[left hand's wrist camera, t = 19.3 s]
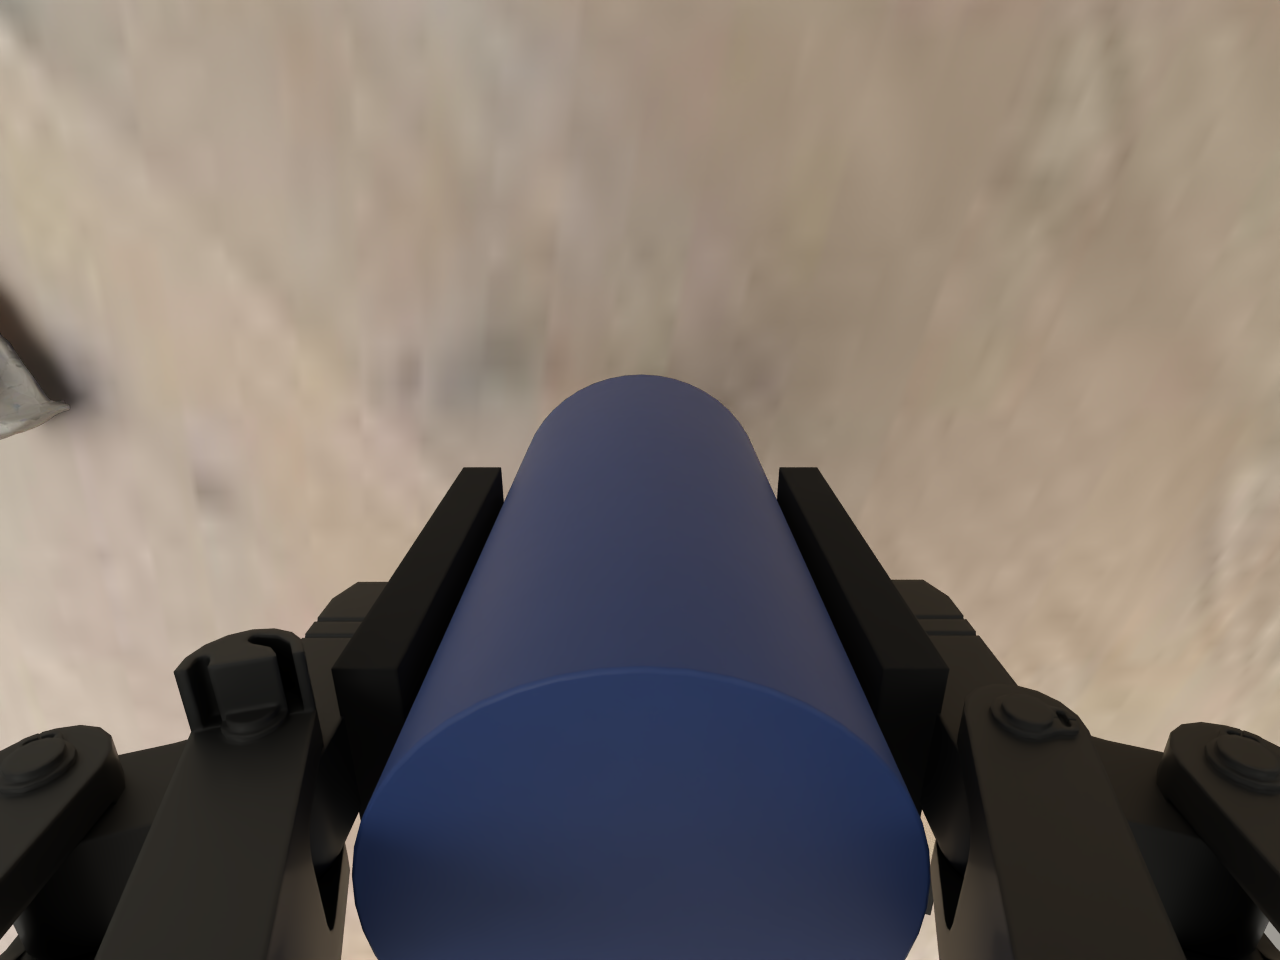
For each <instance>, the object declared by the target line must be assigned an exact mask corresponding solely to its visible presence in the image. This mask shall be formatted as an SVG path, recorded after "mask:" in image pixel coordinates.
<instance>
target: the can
mask: <svg viewBox="0 0 1280 960" xmlns="http://www.w3.org/2000/svg"><path fill="white" fill-rule="evenodd" d="M930 880H931V875H930V856H929V847H928V843H927V839H926V835H925V831H924V827H923V823H922V820H921V818H920V816H919V814H918V811H917V809H916V807H915V805H914V802H913V800H912V798H911V796H910V794H909V791H908V789H907V787H906V785H905V783H904V780H903V778H902V776H901V774H900V771H899V769H898V767H897V765H896V763H895V760H894V758H893V756H892V754H891V752H890V749H889V747H888V745H887V743H886V740H885V738H884V736H883V734H882V732H881V729H880V727H879V725H878V723H877V721H876V718H875V716H874V714H873V712H872V709H871V707H870V705H869V703H868V701H867V698H866V696H865V694H864V692H863V690H862V687H861V685H860V683H859V681H858V678H857V676H856V674H855V672H854V670H853V667H852V665H851V663H850V661H849V659H848V656H847V654H846V652H845V650H844V648H843V645H842V643H841V641H840V639H839V636H838V634H837V632H836V630H835V628H834V625H833V623H832V621H831V619H830V617H829V614H828V612H827V610H826V608H825V605H824V603H823V601H822V599H821V597H820V594H819V592H818V590H817V588H816V586H815V583H814V581H813V579H812V577H811V574H810V572H809V570H808V568H807V566H806V563H805V561H804V559H803V557H802V555H801V552H800V550H799V548H798V546H797V544H796V541H795V539H794V537H793V535H792V532H791V530H790V528H789V526H788V524H787V521H786V519H785V517H784V515H783V513H782V510H781V508H780V506H779V504H778V501H777V499H776V497H775V495H774V493H773V490H772V488H771V486H770V484H769V482H768V479H767V477H766V475H765V473H764V470H763V468H762V466H761V464H760V462H759V459H758V457H757V455H756V453H755V451H754V448H753V446H752V444H751V442H750V439H749V437H748V435H747V434H746V432H745V431H744V429H743V427H742V426H741V424H740V423H739V422H738V420H737V419H736V418H735V417H734V416H733V414H732V413H731V412H730V411H729V410H728V409H727V408H726V407H724V406H723V405H722V404H721V403H720V402H719V401H718V400H716V399H715V398H713V397H712V396H710V395H709V394H707V393H706V392H704V391H702V390H700V389H698V388H696V387H694V386H692V385H690V384H687V383H684V382H682V381H679V380H676V379H672V378H667V377H662V376H654V375H627V376H621V377H615V378H610V379H606V380H603V381H600V382H597V383H594V384H592V385H590V386H588V387H586V388H584V389H581V390H579V391H578V392H576V393H575V394H573V395H572V396H570V397H569V398H567V399H566V400H564V401H563V402H562V403H561V404H560V405H559V406H557V407H556V408H555V409H554V410H553V411H552V412H551V413H550V414H549V416H548V417H547V418H546V419H545V420H544V421H543V423H542V424H541V426H540V427H539V429H538V430H537V432H536V433H535V435H534V437H533V439H532V442H531V444H530V446H529V448H528V450H527V452H526V455H525V457H524V459H523V461H522V464H521V466H520V468H519V470H518V472H517V475H516V477H515V479H514V481H513V484H512V486H511V488H510V490H509V492H508V495H507V497H506V499H505V501H504V504H503V506H502V508H501V510H500V512H499V515H498V517H497V519H496V521H495V523H494V526H493V528H492V530H491V532H490V535H489V537H488V539H487V541H486V543H485V546H484V548H483V550H482V552H481V555H480V557H479V559H478V561H477V563H476V566H475V568H474V570H473V572H472V575H471V577H470V579H469V581H468V583H467V586H466V588H465V590H464V592H463V595H462V597H461V599H460V601H459V603H458V606H457V608H456V610H455V612H454V615H453V617H452V619H451V621H450V623H449V626H448V628H447V630H446V632H445V635H444V637H443V639H442V641H441V643H440V646H439V648H438V650H437V652H436V655H435V657H434V659H433V661H432V663H431V666H430V668H429V670H428V672H427V675H426V677H425V679H424V681H423V683H422V686H421V688H420V690H419V692H418V695H417V697H416V699H415V701H414V703H413V706H412V708H411V710H410V712H409V714H408V717H407V719H406V721H405V723H404V726H403V728H402V730H401V732H400V734H399V737H398V739H397V741H396V743H395V746H394V748H393V750H392V752H391V754H390V757H389V759H388V761H387V763H386V766H385V768H384V770H383V772H382V774H381V777H380V779H379V781H378V783H377V786H376V788H375V790H374V792H373V794H372V797H371V799H370V801H369V803H368V806H367V808H366V810H365V812H364V814H363V817H362V819H361V823H360V826H359V830H358V834H357V838H356V841H355V845H354V854H353V868H352V881H353V890H354V899H355V906H356V909H357V912H358V916H359V919H360V923H361V926H362V929H363V932H364V934H365V936H366V938H367V940H368V942H369V944H370V946H371V948H372V950H373V952H374V954H375V956H376V957H377V959H378V960H905V959H906V957H907V955H908V954H909V952H910V950H911V948H912V946H913V944H914V942H915V940H916V938H917V936H918V934H919V931H920V928H921V925H922V922H923V919H924V915H925V912H926V909H927V904H928V896H929V888H930Z"/></svg>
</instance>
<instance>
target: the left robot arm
mask: <svg viewBox="0 0 1280 960" xmlns="http://www.w3.org/2000/svg"><path fill="white" fill-rule="evenodd" d="M777 501H778V504H779V506H780V508H781V510H782V513H783V515H784V517H785V519H786V521H787V524H788V526H789V528H790V530H791V532H792V535H793V537H794V539H795V541H796V544H797V546H798V548H799V550H800V552H801V555H802V557H803V559H804V561H805V563H806V566H807V568H808V570H809V572H810V574H811V577H812V579H813V581H814V583H815V586H816V588H817V590H818V592H819V594H820V597H821V599H822V601H823V603H824V605H825V608H826V610H827V612H828V614H829V617H830V619H831V621H832V623H833V625H834V628H835V630H836V632H837V634H838V636H839V639H840V641H841V643H842V645H843V648H844V650H845V652H846V654H847V656H848V659H849V661H850V663H851V665H852V667H853V670H854V672H855V674H856V676H857V678H858V681H859V683H860V685H861V687H862V690H863V692H864V694H865V696H866V698H867V701H868V703H869V705H870V707H871V709H872V712H873V714H874V716H875V718H876V721H877V723H878V725H879V727H880V729H881V732H882V734H883V736H884V738H885V740H886V743H887V745H888V747H889V749H890V752H891V754H892V756H893V758H894V760H895V763H896V765H897V767H898V769H899V771H900V774H901V776H902V778H903V780H904V783H905V785H906V787H907V789H908V791H909V794H910V796H911V798H912V800H913V802H914V805H915V807H916V809H917V811H918V814H919V816H920V817H921V812H922V810H923V812H924V814H925V817H926V819H927V821H928V823H929V825H930V827H931V830H932V832H933V834H934V836H935V838H936V840H935V845H934V850H933V855H932V859H931V864H930V875H931V880H930V888H929V896H928V904H927V909H926V912H925V914H928V915H931V910H932V906H933V902H934V912H935V922H936V932H937V941H938V951H939V960H1280V951H1279V950H1278V949H1277V948H1276V947H1275V946H1274V945H1273V943H1272V942H1271V941H1270V940H1269V938H1268V937H1267V936H1266V935H1265V933H1264V931H1265V928H1266V926H1267V924H1268V922H1269V921H1270V922H1271V923H1272V925H1273V926H1274V927H1275V928H1276V930H1277V931H1278V932H1279V933H1280V747H1279V746H1277V745H1275V744H1273V743H1271V742H1269V741H1267V740H1265V739H1263V738H1261V737H1259V736H1257V735H1255V734H1252V733H1250V732H1247V731H1242V730H1240V729H1237V728H1233V727H1229V726H1225V725H1218V724H1211V723H1204V722H1198V723H1189V724H1181V725H1180V726H1179V727H1177V728H1176V729H1175V730H1173V731H1172V732H1171V733H1170V736H1169V739H1168V741H1167V744H1166V747H1165V750H1164V752H1159V751H1154V750H1149V749H1145V748H1140V747H1135V746H1131V745H1126V744H1121V743H1117V742H1112V741H1107V740H1104V739H1100V738H1096V737H1093V736H1091V735H1090V732H1089V730H1088V729H1087V728H1086V726H1085V725H1084V723H1083V722H1082V721H1081V719H1080V718H1079V716H1078V715H1077V714H1075V713H1074V712H1073V711H1071V710H1070V709H1069V708H1067V707H1066V706H1065V705H1063V704H1062V703H1061V702H1059V701H1057V700H1055V699H1053V698H1051V697H1049V696H1047V695H1045V694H1043V693H1040V692H1038V691H1035V690H1032V689H1028V688H1024V687H1020V686H1018V685H1017V684H1016V683H1015V681H1014V680H1013V679H1012V678H1011V676H1010V675H1009V674H1008V672H1007V671H1006V670H1005V669H1004V667H1003V666H1002V665H1001V663H1000V662H999V661H998V660H997V658H996V657H995V656H994V654H993V653H992V652H991V651H990V649H989V648H988V647H987V645H986V644H985V643H984V641H983V640H982V639H981V638H980V636H976V631H975V630H974V629H973V627H972V626H971V625H970V623H969V622H968V621H967V620H966V619H963V614H962V613H961V612H960V611H959V609H958V608H957V607H956V605H955V604H954V603H953V602H952V600H951V599H950V598H949V596H947V595H946V594H944V593H943V592H941V591H940V590H938V589H936V588H935V587H933V586H932V585H930V584H929V583H927V582H926V581H924V580H891V579H890V578H889V576H888V575H887V573H886V572H885V570H884V569H883V567H882V565H881V564H880V562H879V561H878V559H877V558H876V556H875V555H874V553H873V552H872V550H871V549H870V547H869V546H868V544H867V543H866V541H865V540H864V538H863V537H862V535H861V534H860V532H859V531H858V529H857V527H856V526H855V524H854V523H853V521H852V520H851V518H850V517H849V515H848V514H847V512H846V511H845V509H844V508H843V506H842V505H841V503H840V502H839V500H838V499H837V497H836V496H835V494H834V493H833V491H832V489H831V488H830V486H829V485H828V483H827V482H826V480H825V479H824V477H823V476H822V474H821V473H820V471H819V470H818V468H817V467H780V468H779V480H778V493H777ZM503 504H504V499H503V486H502V473H501V467H464V468H463V469H462V471H461V472H460V474H459V475H458V477H457V478H456V480H455V481H454V483H453V484H452V486H451V487H450V489H449V490H448V492H447V493H446V495H445V496H444V498H443V499H442V501H441V503H440V504H439V506H438V507H437V509H436V510H435V512H434V513H433V515H432V516H431V518H430V519H429V521H428V522H427V524H426V525H425V527H424V528H423V530H422V531H421V533H420V534H419V536H418V537H417V539H416V541H415V542H414V544H413V545H412V547H411V548H410V550H409V551H408V553H407V554H406V556H405V557H404V559H403V560H402V562H401V563H400V565H399V566H398V568H397V569H396V571H395V572H394V574H393V575H392V577H391V579H390V580H389V582H357V583H356V584H354V585H353V586H351V587H349V588H348V589H346V590H345V591H343V592H342V593H340V594H339V595H337V596H336V597H334V598H333V599H332V600H331V601H330V603H329V604H328V605H327V606H326V608H325V609H324V610H323V612H322V613H321V614H320V616H319V617H318V621H317V622H314V623H313V625H312V626H311V627H310V628H309V630H308V631H307V632H306V634H305V638H302V639H300V638H299V637H298V636H296V635H295V634H294V633H292V632H289V631H284V630H280V629H275V628H274V629H253V630H248V631H244V632H240V633H236V634H231V635H228V636H225V637H223V638H220V639H218V640H216V641H213V642H211V643H208V644H206V645H204V646H202V647H201V648H199V649H198V650H196V651H195V652H193V653H192V654H190V655H189V656H187V657H186V658H185V659H184V660H183V661H182V662H181V664H180V665H179V666H178V667H177V668H176V670H175V671H174V675H175V678H176V682H177V685H178V688H179V692H180V695H181V699H182V702H183V705H184V709H185V712H186V715H187V719H188V722H189V725H190V729H191V734H190V736H189V738H188V740H184V741H181V742H177V743H173V744H169V745H164V746H159V747H154V748H150V749H145V750H140V751H136V752H131V753H126V754H122V755H118V754H117V751H116V748H115V745H114V742H113V739H112V737H111V735H110V734H108V733H107V732H106V731H104V730H103V729H102V728H100V727H93V726H85V725H77V726H70V727H63V728H56V729H52V730H49V731H45V732H42V733H40V734H35V735H32V736H30V737H27V738H25V739H23V740H21V741H19V742H17V743H15V744H13V745H11V746H9V747H7V748H6V749H4V750H2V751H0V939H1V938H2V937H3V936H4V934H5V933H6V932H7V931H8V930H9V928H10V927H11V926H12V925H14V927H15V929H16V931H17V933H18V936H17V937H16V938H15V940H14V941H13V942H12V943H11V945H10V946H9V947H8V948H7V950H6V951H5V952H3V953H2V954H1V955H0V960H341V953H342V943H343V934H344V924H345V914H346V904H347V894H348V884H349V874H350V867H349V861H348V855H347V850H346V845H345V841H346V839H347V836H348V834H349V832H350V830H351V828H352V826H353V823H354V821H355V819H356V817H357V815H358V813H359V814H360V819H362V817H363V814H364V812H365V810H366V808H367V806H368V803H369V801H370V799H371V797H372V794H373V792H374V790H375V788H376V786H377V783H378V781H379V779H380V777H381V774H382V772H383V770H384V768H385V766H386V763H387V761H388V759H389V757H390V754H391V752H392V750H393V748H394V746H395V743H396V741H397V739H398V737H399V734H400V732H401V730H402V728H403V726H404V723H405V721H406V719H407V717H408V714H409V712H410V710H411V708H412V706H413V703H414V701H415V699H416V697H417V695H418V692H419V690H420V688H421V686H422V683H423V681H424V679H425V677H426V675H427V672H428V670H429V668H430V666H431V663H432V661H433V659H434V657H435V655H436V652H437V650H438V648H439V646H440V643H441V641H442V639H443V637H444V635H445V632H446V630H447V628H448V626H449V623H450V621H451V619H452V617H453V615H454V612H455V610H456V608H457V606H458V603H459V601H460V599H461V597H462V595H463V592H464V590H465V588H466V586H467V583H468V581H469V579H470V577H471V575H472V572H473V570H474V568H475V566H476V563H477V561H478V559H479V557H480V555H481V552H482V550H483V548H484V546H485V543H486V541H487V539H488V537H489V535H490V532H491V530H492V528H493V526H494V523H495V521H496V519H497V517H498V515H499V512H500V510H501V508H502V506H503Z"/></svg>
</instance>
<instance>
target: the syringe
mask: <svg viewBox="0 0 1280 960" xmlns="http://www.w3.org/2000/svg"><path fill="white" fill-rule="evenodd" d="M67 410H70V406H69V405H66V404H65V401H64V400H62V401H52V400H50V399H49V398H48V397H47V396H46V394H45V393H44V391H43V390H42V388H41V387H40V385H39V384H38V382H37V381H36V380H35V378H34V377H33V376H32V374H31V373H30V372H29V370H28V369H27V368H26V366H25V365H24V364H23V362H22V361H21V359H20V357H19V356H18V354H17V353H16V351H15V350H14V348H13V347H12V345H11V344H10V342H9V341H8V340H6V339H5V338H4V337H3V336H2V335H1V334H0V439H4V438H7V437H9V436H12V435H14V434H18V433H22V432H25V431H28V430H30V429H32V428H35V427H37V426H39V425H41V424H43V423H45V422H46V421H48V420H49V419H51V418H52V417H53V416H55V415H57V414H58V413H60V412H63V411H67Z"/></svg>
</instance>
